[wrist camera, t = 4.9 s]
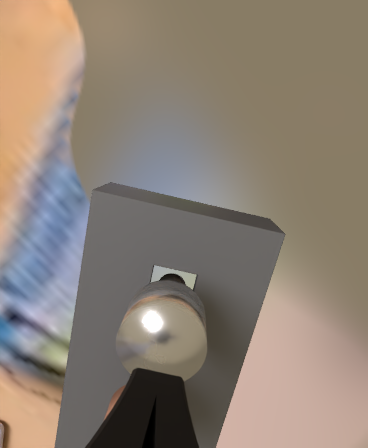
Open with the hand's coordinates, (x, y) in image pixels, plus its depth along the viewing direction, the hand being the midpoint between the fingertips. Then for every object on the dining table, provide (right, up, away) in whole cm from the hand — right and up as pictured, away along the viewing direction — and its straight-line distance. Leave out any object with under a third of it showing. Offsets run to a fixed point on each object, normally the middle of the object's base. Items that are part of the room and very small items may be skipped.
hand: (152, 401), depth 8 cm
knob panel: (-1, -2, +11) cm, 11 cm away
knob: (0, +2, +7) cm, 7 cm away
